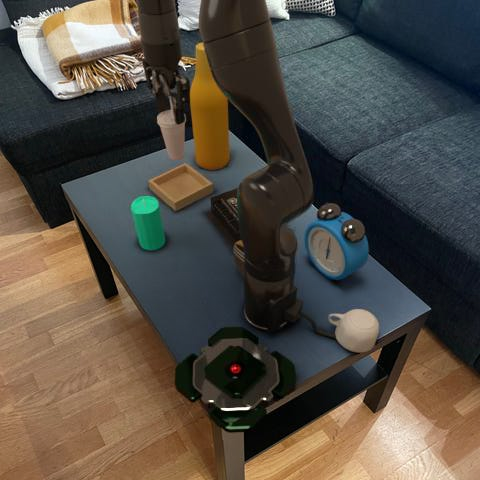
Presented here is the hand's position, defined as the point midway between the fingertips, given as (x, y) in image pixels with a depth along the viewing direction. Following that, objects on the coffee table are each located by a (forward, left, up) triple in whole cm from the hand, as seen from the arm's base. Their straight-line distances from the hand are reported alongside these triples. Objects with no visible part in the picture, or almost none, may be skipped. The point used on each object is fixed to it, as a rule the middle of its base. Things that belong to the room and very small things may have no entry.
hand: (171, 116), depth 105 cm
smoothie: (0, 0, -10) cm, 10 cm away
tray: (0, 0, -20) cm, 20 cm away
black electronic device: (-22, -4, -20) cm, 30 cm away
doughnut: (-34, +6, -20) cm, 40 cm away
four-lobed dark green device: (-52, +25, -20) cm, 61 cm away
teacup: (-59, +1, -14) cm, 60 cm away
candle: (-11, +16, -20) cm, 28 cm away
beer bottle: (+5, -14, -20) cm, 25 cm away
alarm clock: (-44, -9, -20) cm, 49 cm away
